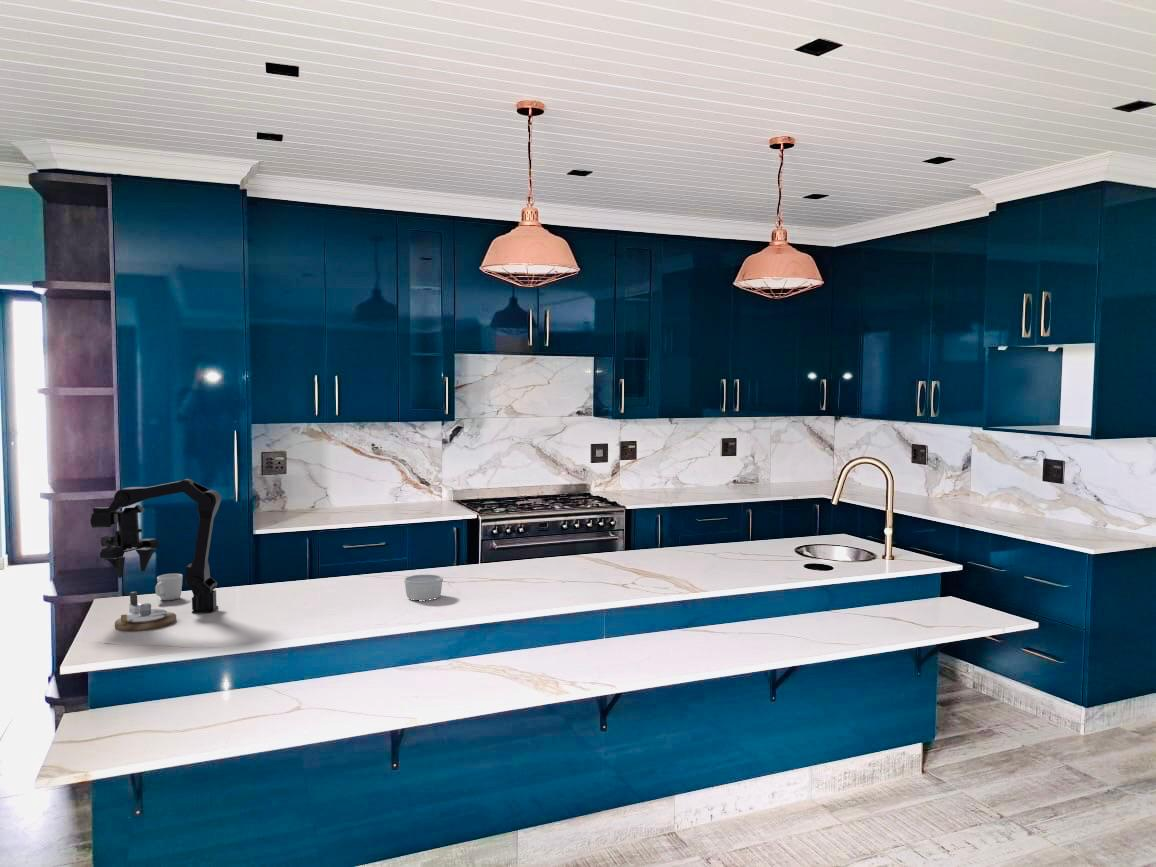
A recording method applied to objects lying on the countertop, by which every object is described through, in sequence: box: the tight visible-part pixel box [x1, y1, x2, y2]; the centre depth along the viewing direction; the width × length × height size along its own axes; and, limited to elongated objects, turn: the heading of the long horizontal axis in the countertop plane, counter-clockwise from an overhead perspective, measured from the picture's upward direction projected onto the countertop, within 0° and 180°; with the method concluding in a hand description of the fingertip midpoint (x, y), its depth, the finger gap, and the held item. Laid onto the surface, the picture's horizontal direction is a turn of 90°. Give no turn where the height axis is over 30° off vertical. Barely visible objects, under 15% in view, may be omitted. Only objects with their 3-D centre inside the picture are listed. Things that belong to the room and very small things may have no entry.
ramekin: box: [403, 573, 444, 600], centre depth 292 cm, size 13×13×7 cm
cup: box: [154, 573, 184, 601], centre depth 290 cm, size 11×8×8 cm
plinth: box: [114, 611, 177, 633], centre depth 261 cm, size 17×17×4 cm
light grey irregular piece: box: [125, 591, 168, 623], centre depth 262 cm, size 16×12×7 cm
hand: (131, 574), depth 272 cm, fingers open, 9 cm apart
